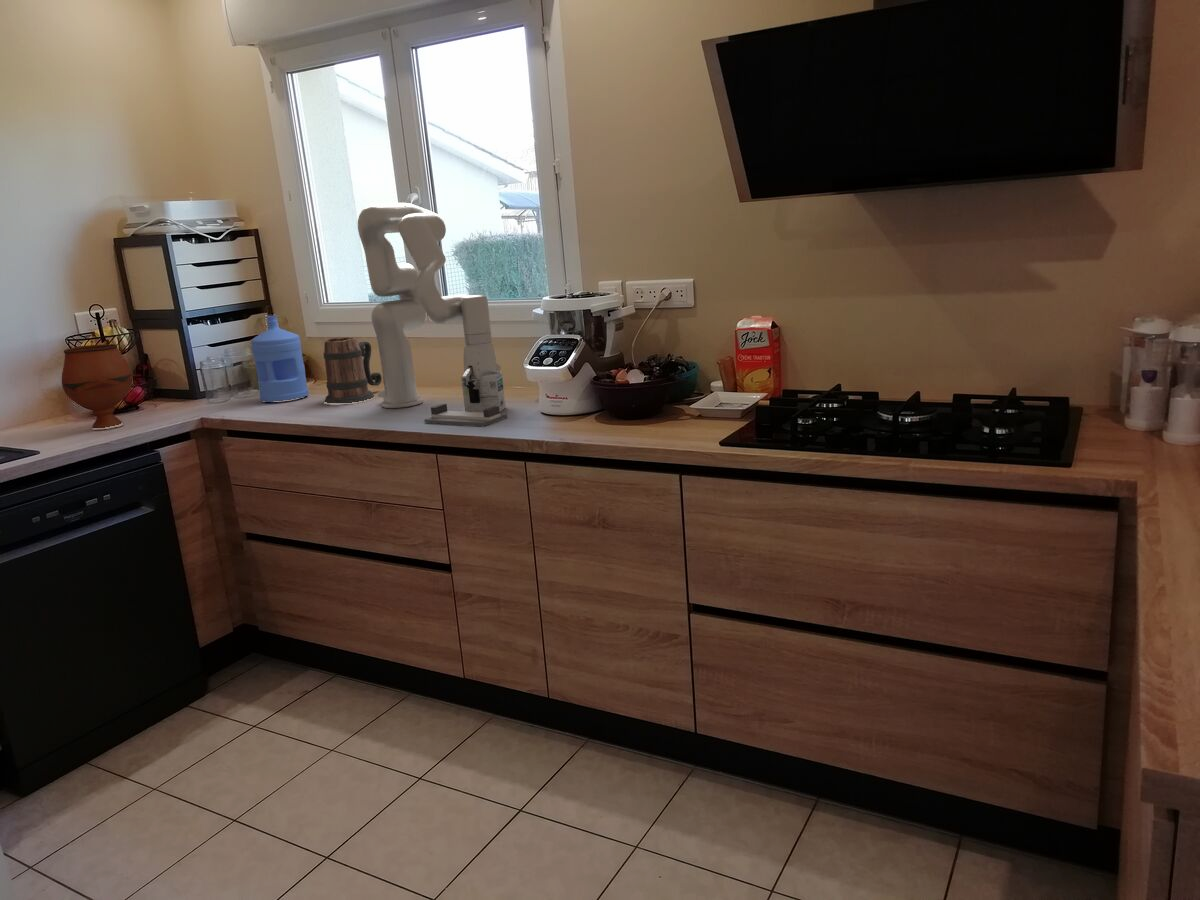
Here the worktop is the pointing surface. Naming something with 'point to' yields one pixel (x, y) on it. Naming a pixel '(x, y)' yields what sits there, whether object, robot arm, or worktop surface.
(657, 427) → the worktop surface
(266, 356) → the water jug
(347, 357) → the tankard
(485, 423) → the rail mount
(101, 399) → the goblet
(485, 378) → the light bulb box
